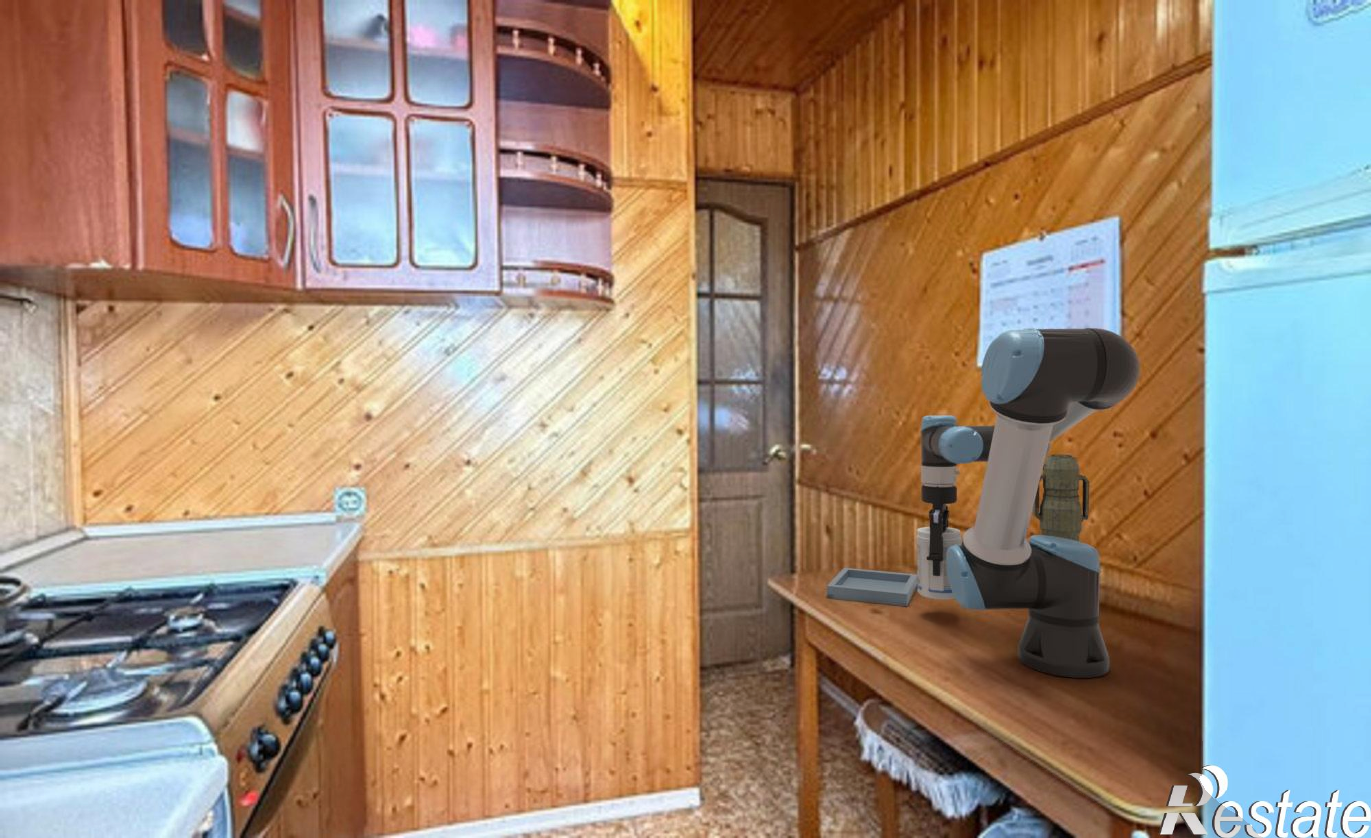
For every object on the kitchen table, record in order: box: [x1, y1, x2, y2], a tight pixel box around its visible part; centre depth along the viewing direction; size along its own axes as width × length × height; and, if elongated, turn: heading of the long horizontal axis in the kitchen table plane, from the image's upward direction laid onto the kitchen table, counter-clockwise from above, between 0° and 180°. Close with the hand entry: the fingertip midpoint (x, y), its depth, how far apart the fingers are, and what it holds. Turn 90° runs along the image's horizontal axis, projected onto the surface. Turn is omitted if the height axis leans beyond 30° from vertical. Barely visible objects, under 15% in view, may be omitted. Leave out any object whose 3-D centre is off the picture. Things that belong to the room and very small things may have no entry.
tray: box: [826, 567, 918, 607], centre depth 186 cm, size 19×19×3 cm
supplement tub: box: [916, 526, 963, 601], centre depth 165 cm, size 10×10×15 cm
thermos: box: [1032, 454, 1090, 542], centre depth 174 cm, size 9×12×35 cm
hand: (939, 584), depth 165 cm, fingers closed on supplement tub, 9 cm apart
